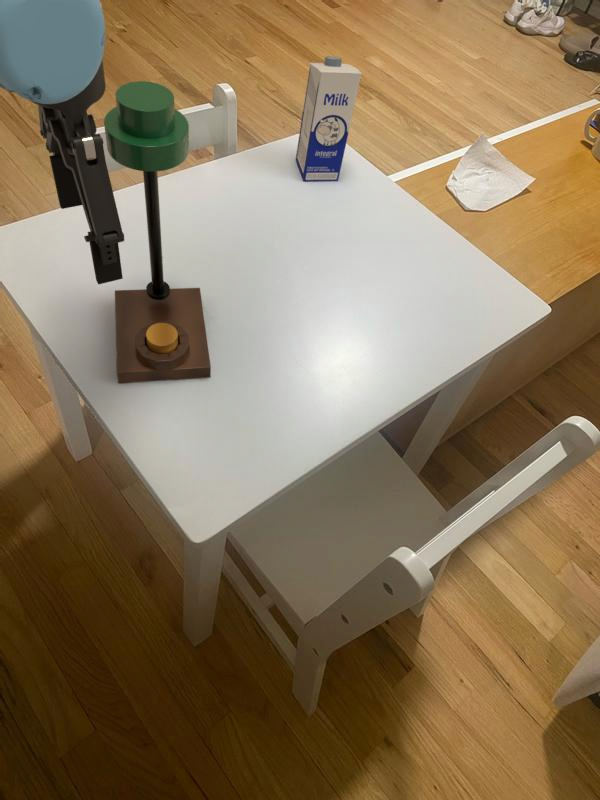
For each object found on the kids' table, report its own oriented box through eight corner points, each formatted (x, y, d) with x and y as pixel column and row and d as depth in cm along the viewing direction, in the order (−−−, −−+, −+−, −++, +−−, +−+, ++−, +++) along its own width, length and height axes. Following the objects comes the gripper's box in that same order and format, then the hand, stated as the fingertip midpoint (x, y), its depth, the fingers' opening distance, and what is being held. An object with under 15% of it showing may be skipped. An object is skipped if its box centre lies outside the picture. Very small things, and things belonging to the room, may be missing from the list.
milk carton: (302, 181, 111) (320, 70, 95) (294, 160, 114) (310, 50, 98) (338, 181, 112) (363, 72, 96) (330, 159, 116) (351, 51, 100)
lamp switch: (147, 355, 78) (146, 346, 76) (146, 332, 80) (145, 323, 78) (179, 353, 79) (178, 344, 77) (176, 330, 81) (176, 321, 79)
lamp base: (118, 383, 79) (115, 364, 76) (116, 301, 87) (113, 280, 84) (210, 377, 82) (211, 358, 78) (199, 298, 90) (199, 278, 87)
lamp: (125, 308, 81) (100, 117, 60) (123, 263, 86) (100, 72, 65) (192, 306, 83) (192, 120, 62) (187, 262, 88) (184, 76, 67)
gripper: (149, 116, 48) (161, 305, 65) (58, -19, 59) (88, 172, 76) (52, 130, 45) (91, 324, 62) (-24, -15, 56) (27, 183, 73)
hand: (90, 240), depth 69 cm, fingers open, 13 cm apart
